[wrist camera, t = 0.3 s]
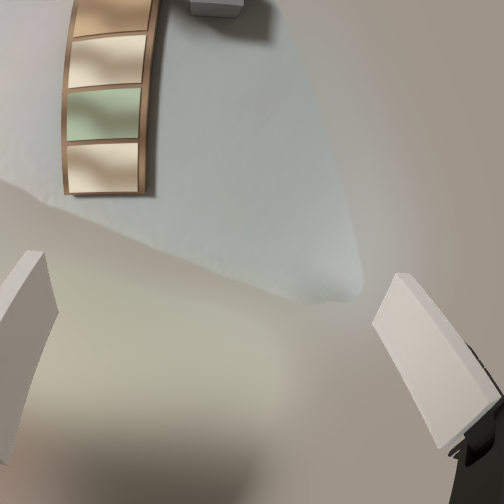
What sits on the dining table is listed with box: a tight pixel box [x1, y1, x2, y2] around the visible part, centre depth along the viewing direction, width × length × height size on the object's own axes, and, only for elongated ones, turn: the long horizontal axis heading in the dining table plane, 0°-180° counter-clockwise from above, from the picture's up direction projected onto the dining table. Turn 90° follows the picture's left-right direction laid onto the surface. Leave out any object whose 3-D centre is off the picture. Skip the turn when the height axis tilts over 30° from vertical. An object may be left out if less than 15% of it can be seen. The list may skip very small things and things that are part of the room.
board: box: [61, 0, 161, 195], centre depth 26 cm, size 30×10×1 cm, turn 174°
